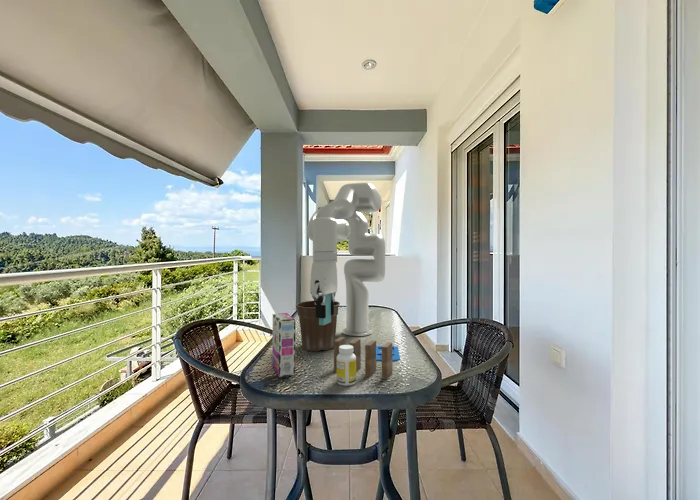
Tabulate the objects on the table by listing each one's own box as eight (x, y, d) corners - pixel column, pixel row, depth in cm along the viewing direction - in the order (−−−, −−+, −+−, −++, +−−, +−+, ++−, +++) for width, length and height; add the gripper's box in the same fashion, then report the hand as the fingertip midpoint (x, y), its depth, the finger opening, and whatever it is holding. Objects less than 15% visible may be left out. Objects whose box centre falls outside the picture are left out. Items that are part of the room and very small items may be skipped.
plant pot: (287, 351, 121) (287, 305, 120) (307, 339, 136) (307, 299, 136) (330, 355, 115) (330, 308, 115) (346, 342, 131) (345, 301, 130)
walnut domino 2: (349, 373, 99) (349, 342, 99) (355, 367, 104) (355, 338, 104) (354, 374, 99) (354, 343, 98) (360, 368, 103) (360, 339, 103)
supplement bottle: (355, 378, 96) (355, 343, 95) (356, 386, 90) (356, 349, 90) (336, 378, 95) (336, 343, 95) (336, 386, 90) (336, 349, 90)
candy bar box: (296, 375, 98) (296, 319, 97) (279, 378, 96) (278, 320, 96) (287, 363, 108) (287, 312, 108) (271, 365, 106) (271, 313, 106)
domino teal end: (319, 324, 103) (318, 295, 103) (326, 321, 107) (326, 293, 107) (323, 325, 102) (323, 295, 102) (331, 322, 107) (331, 293, 107)
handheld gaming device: (374, 358, 110) (375, 345, 125) (374, 362, 110) (375, 348, 125) (400, 359, 109) (397, 345, 124) (400, 362, 109) (397, 348, 124)
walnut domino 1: (334, 370, 101) (333, 341, 101) (341, 365, 106) (341, 336, 106) (338, 371, 101) (338, 341, 100) (345, 366, 105) (345, 337, 105)
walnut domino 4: (381, 378, 95) (381, 346, 95) (387, 372, 100) (387, 342, 100) (387, 379, 95) (387, 347, 95) (392, 373, 99) (392, 342, 99)
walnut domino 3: (365, 375, 97) (365, 344, 97) (371, 370, 102) (371, 340, 102) (370, 376, 97) (370, 345, 96) (376, 370, 101) (376, 340, 101)
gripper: (326, 256, 114) (326, 310, 114) (299, 258, 98) (300, 320, 99) (347, 257, 111) (347, 312, 111) (322, 258, 95) (322, 323, 96)
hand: (325, 315), depth 105 cm, fingers closed on domino teal end, 4 cm apart
